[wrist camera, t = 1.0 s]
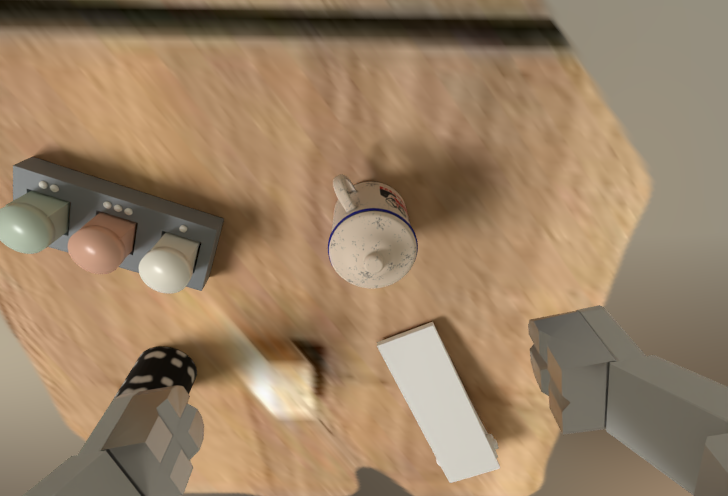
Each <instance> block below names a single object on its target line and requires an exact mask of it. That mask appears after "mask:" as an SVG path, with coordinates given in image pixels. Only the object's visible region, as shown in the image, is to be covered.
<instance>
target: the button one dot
mask: <svg viewBox="0 0 728 496" xmlns="http://www.w3.org/2000/svg"><path fill="white" fill-rule="evenodd" d="M199 244H200V242H197V241H194V240H191V239H188V238H185V237H181V236H178V235H175V234H172V233H168V232H166V233H165V234H164V235H163V236H162V237H161V239H160V240H159V241H158V242H157V243H156V245H155V246H154V247H153V248H152V249H151V250H150V251H148V252H147V254H146V255H145V256H144V257H143V258H142V260H141V261H140V263H139V274H140V276H141V278H142V280H143V281H144V282H145V283H146V284H147V285H148V286H149V287H150V288H152V289H154V290H156V291H158V292H162V293H176V292H179V291H181V290H183V289H184V288H185V287H186V286H187V284H188V282H189V281H190V279H191V277H192V274H193V269H194V266H195V261H196V257H197V253H198V249H199Z"/></svg>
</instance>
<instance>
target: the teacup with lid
mask: <svg viewBox="0 0 728 496" xmlns="http://www.w3.org/2000/svg"><path fill="white" fill-rule="evenodd" d="M333 187H334V190H335V193H336V195H337V197H338V201H337V203H336V205H335V209H334V216H333V225H332V233H331V235H330V238H329V242H328V255H329V259H330V262H331V264H332V266H333V267H334V269H335V271H336V272H337V273H338V274H339V275H340V276H341V277H342V278H343V279H344V280H346V281H347V282H349V283H351V284H353V285H356V286H359V287H363V288H381V287H385V286H389V285H391V284H393V283H395V282H397V281H399V280H400V279H401V278H403V277H404V276H405V275H406V274H407V273H408V272H409V270H410V269H411V267H412V266H413V264H414V262H415V259H416V256H417V250H418V244H417V238H416V235H415V232H414V230H413V229H412V227H411V225H410V221H409V217H408V213H407V209H406V205H405V203H404V201H403V199H402V197H401V196H400V195H399V193H398V192H397V191H395V190H394V189H393V188H391V187H390V186H388V185H386V184H383V183H379V182H362V183H359V184H356V185H353V184H352V182H351V181H350V179H349V178H348V177H347V176H345V175H343V174H340V175H338V176H336V177H335V178H334V179H333Z"/></svg>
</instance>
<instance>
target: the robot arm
mask: <svg viewBox="0 0 728 496" xmlns="http://www.w3.org/2000/svg"><path fill="white" fill-rule="evenodd" d="M528 328H529V335H530V337H531V339H532V341H533V343H534V344H533V346H532V347H531V348H530V357H531V364H532V368H533V372H534V375H535V378H536V381H537V383H538V385H539V387H540V389H541V392H543V393H545V394H546V395H548V396H549V405H550V410H551V412H552V414H553V416H554V418H555V420H556V422H557V424H558V426H559V428H560V430H561V432H562V434H570V433H578V432H585V431H592V430H601V429H606V431H607V432H608V433H610V434H611V435H612V436H614V437H615V438H616V439H618V440H619V441H620V442H622V443H623V444H624V445H626V446H627V447H629V448H630V449H631V450H633V451H634V452H635V453H637V454H638V455H639V456H641V457H642V458H643V459H645V460H646V461H648V462H649V463H650V464H652V465H653V466H654V467H656V468H657V469H658V470H660V471H661V472H662V473H664V474H665V475H667V476H668V477H669V478H671V479H672V480H673V481H675V482H676V483H677V484H679V485H680V486H681V487H683V488H685V489H686V490H687V491H688V492H690V493H691V494H692V495H694V496H728V387H727V386H724V385H722V384H720V383H717V382H715V381H713V380H710V379H708V378H706V377H703V376H701V375H699V374H697V373H694V372H692V371H689V370H687V369H685V368H683V367H680V366H678V365H676V364H673V363H671V362H669V361H667V360H664V359H662V358H659V357H657V356H655V355H652V356H646V355H645V354H644V353H643V352H642V351H641V350H640V349H639V347H638V346H637V345H636V344H635V343H634V341H633V340H632V339H631V338H630V337H629V336H628V334H627V333H626V332H625V331H624V330H623V329H622V328H621V326H620V325H619V324H618V323H617V322H616V321H615V319H614V318H613V317H612V316H611V315H610V314H609V313H608V311H607V310H606V309H605V308H604V307H602V306H600V305H599V306H594V307H590V308H585V309H580V310H576V311H572V312H567V313H562V314H557V315H551V316H546V317H541V318H536V319H531V320H529V324H528ZM189 397H190V396H189V394H188V393H187V391H186V390H185V388H184V387H183V386H178V385H176V386H170V387H164V388H158V389H152V390H145V391H139V392H136V393H129V394H123V395H119V396H118V397H116V398H115V399H113V401H112V402H111V404H110V405H109V407H108V409H107V410H106V412H105V413H104V415H103V416H102V418H101V419H100V421H99V422H98V424H97V426H96V427H95V429H94V430H93V432H92V433H91V435H90V436H89V438H88V439H87V441H86V443H85V444H84V446H83V447H82V449H81V450H80V452H79V453H78V455H76V456H71V457H70V458H68V459H67V460H66V461H65V462H64V463H62V464H61V465H60V466H58V467H57V468H56V469H55V470H54V471H53V472H51V473H50V474H49V475H47V476H46V477H45V478H44V479H42V480H41V481H40V482H39V483H38V484H36V485H35V486H34V487H33V488H31V489H30V490H29V491H28V492H26V493H25V494H24V495H23V496H181V495H183V494H184V491H185V488H186V485H187V483H188V480H189V477H190V475H191V472H192V469H193V466H192V463H191V461H190V459H191V458H192V457H193V456H194V455H195V454H196V453H197V452H198V451H199V450H200V447H201V444H202V441H203V437H204V424H203V420H202V416H201V414H200V413H199V411H198V409H196V408H195V407H193V406H191V405H189V404H188V400H189Z"/></svg>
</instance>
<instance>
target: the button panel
mask: <svg viewBox="0 0 728 496" xmlns="http://www.w3.org/2000/svg"><path fill="white" fill-rule="evenodd" d="M31 190H33V191H36V192H39V193H43V194H46V195H49V196H52V197H55V198H59V199H62V200H65V201H68V202H71V207H70V220H69V225H68V231H67V232H66V233H65V234H63V235H62V236H61V237H60V238H58V239H57V240H56V241H54V242H53V243H52V244H51V245H49V246H48V247H51V248H54V249H58V250H61V251H65V252H68V241H69V239H70V237H71V236H72V235H73V234H74V233H76V232H77V231H78V230H79V229H81V227H83V226H84V225H85V224H86V223H87V222H89V221H90V220H91V219H92V218H94V217H95V216H96V215H97V214H99V213H100V212H104V213H107V214H110V215H114V216H117V217H120V218H123V219H126V220H130V221H133V222H136V223H138V226H137V233H136V239H135V240H134V245H133V250H132V252H131V253H130V254H129V255H128V256H127V257H126V258H125V259H124V261H123V262H122V263H121V264H120V266H119V267H120V268H124V269H127V270H131V271H134V272H138V273H139V263H140V261H141V260H142V258H143V257H144V256H145V255H146V254H147V252H148V251H150V250H151V249H152V248H153V247H154V246H155V245H156V243H157V242H158V241H159V240H160V239H161V237H162V236H163V235H164V234H165V233H166V232H168V233H172V234H175V235H178V236H181V237H185V238H188V239H191V240H194V241H197V242H201V247H200V251H199V255H198V259H196V261H195V266H194V269H193V274H192V277H191V279H190V281H189V282H188V284H187V286H186V287H190V288H193V289H197V290H200V291H202V289H203V288H204V286H205V284H206V282H207V280H208V278H209V275H210V271H211V268H212V264H213V260H214V256H215V252H216V248H217V244H218V240H219V236H220V233H221V229H222V225H223V221H224V219H223V218H220V217H217V216H214V215H211V214H208V213H205V212H202V211H198V210H195V209H192V208H189V207H186V206H183V205H180V204H177V203H174V202H171V201H168V200H164V199H161V198H158V197H155V196H152V195H149V194H146V193H143V192H140V191H137V190H134V189H130V188H127V187H124V186H121V185H118V184H115V183H112V182H109V181H106V180H103V179H100V178H96V177H93V176H90V175H87V174H84V173H81V172H78V171H75V170H72V169H69V168H66V167H62V166H59V165H56V164H53V163H50V162H47V161H44V160H41V159H38V158H35V157H31V158H28V159H26V160H24V161H22V162H20V163H18V164H15V165H13V201H14V200H15V199H17V198H19V197H21V196H23V195H24V194H26V193H28V192H30V191H31ZM68 253H69V252H68Z"/></svg>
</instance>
